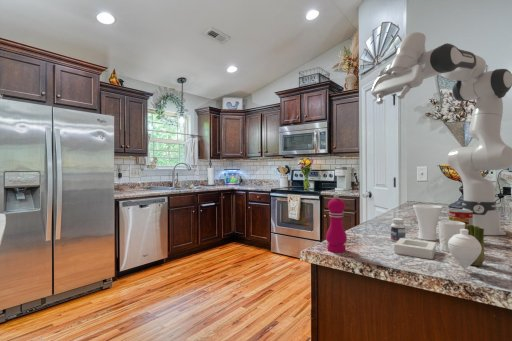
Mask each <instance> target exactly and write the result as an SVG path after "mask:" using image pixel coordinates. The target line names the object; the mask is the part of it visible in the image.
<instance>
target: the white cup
mask: <svg viewBox="0 0 512 341" xmlns="http://www.w3.org/2000/svg"><path fill="white" fill-rule="evenodd" d="M437 225H438V238H439V239H438V240H439V247H440V248H439V249H440V250H442V251H443V252H447V253H451V252H450V250H449V248H448V241H449V239H450V238H451V237H453V235H456V234H461V233H460V229H465V223H463V222H458V221H449V219H448V220H446V219H444V220H442V219H441V220H438V222H437Z"/></svg>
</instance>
